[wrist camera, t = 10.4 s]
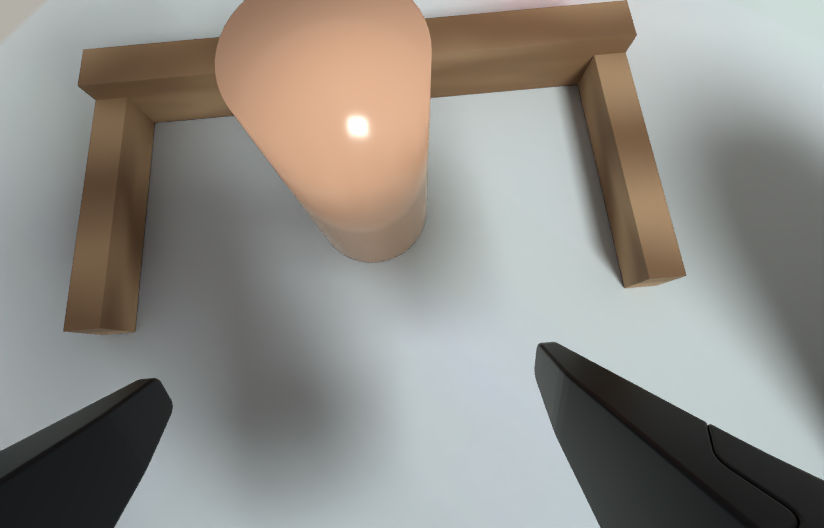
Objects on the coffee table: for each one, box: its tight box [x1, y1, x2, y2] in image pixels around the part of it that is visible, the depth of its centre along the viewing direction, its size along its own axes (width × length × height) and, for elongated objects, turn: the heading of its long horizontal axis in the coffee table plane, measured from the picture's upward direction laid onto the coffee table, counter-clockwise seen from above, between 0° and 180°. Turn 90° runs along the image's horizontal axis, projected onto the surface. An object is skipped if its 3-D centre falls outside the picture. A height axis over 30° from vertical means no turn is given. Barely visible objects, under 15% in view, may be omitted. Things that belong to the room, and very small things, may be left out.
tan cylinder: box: [215, 0, 432, 262], centre depth 14 cm, size 5×5×10 cm
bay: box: [63, 0, 686, 335], centre depth 18 cm, size 13×26×3 cm, turn 95°
